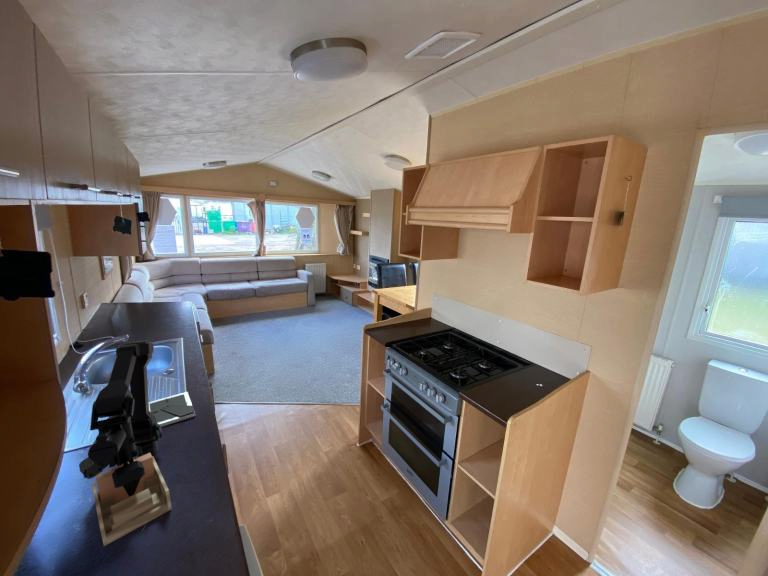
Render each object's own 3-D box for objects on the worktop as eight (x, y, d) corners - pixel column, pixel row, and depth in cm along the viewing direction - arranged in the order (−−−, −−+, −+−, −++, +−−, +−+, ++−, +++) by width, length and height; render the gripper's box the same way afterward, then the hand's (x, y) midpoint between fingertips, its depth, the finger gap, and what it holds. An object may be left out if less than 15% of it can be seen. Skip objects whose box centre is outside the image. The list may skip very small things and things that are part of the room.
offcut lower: (111, 524, 81) (109, 516, 81) (157, 500, 88) (156, 492, 88) (113, 534, 79) (111, 526, 78) (161, 509, 86) (159, 501, 85)
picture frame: (195, 417, 129) (188, 395, 144) (194, 411, 128) (187, 390, 144) (147, 433, 119) (145, 407, 135) (146, 426, 118) (144, 401, 134)
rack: (96, 504, 88) (91, 482, 87) (156, 475, 98) (153, 456, 97) (104, 549, 76) (99, 525, 75) (172, 511, 86) (168, 490, 85)
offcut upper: (111, 514, 81) (110, 506, 81) (149, 495, 87) (148, 488, 86) (114, 525, 79) (112, 516, 78) (153, 504, 84) (151, 496, 84)
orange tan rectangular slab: (101, 507, 86) (95, 475, 84) (154, 481, 95) (150, 452, 93) (103, 512, 85) (96, 480, 82) (156, 486, 93) (152, 456, 91)
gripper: (76, 435, 86) (86, 483, 89) (81, 471, 74) (93, 527, 77) (127, 417, 94) (135, 462, 97) (140, 447, 82) (149, 498, 85)
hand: (128, 485), depth 89 cm, fingers open, 9 cm apart
